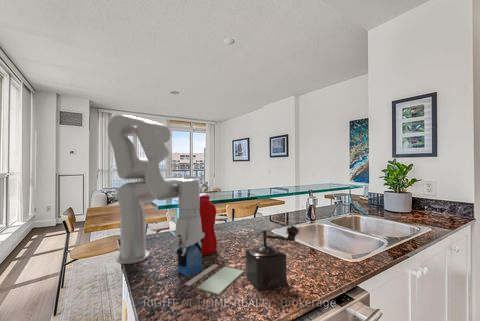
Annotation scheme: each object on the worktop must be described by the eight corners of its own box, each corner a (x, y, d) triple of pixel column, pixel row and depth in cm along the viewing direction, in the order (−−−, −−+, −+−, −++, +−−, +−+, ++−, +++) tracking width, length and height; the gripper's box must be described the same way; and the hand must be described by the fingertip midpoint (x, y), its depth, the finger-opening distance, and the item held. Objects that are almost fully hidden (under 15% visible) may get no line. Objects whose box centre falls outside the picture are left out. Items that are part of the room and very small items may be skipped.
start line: (185, 284, 73) (185, 283, 73) (213, 264, 87) (213, 264, 87) (189, 285, 72) (189, 285, 72) (218, 265, 86) (218, 265, 86)
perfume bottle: (192, 265, 87) (192, 234, 87) (201, 270, 82) (201, 237, 83) (178, 270, 82) (177, 237, 83) (187, 276, 78) (186, 241, 78)
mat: (197, 288, 71) (197, 287, 71) (224, 267, 85) (224, 266, 85) (218, 295, 67) (218, 293, 67) (243, 272, 81) (243, 270, 81)
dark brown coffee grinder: (259, 293, 67) (258, 232, 68) (245, 276, 78) (244, 223, 78) (302, 282, 73) (301, 226, 73) (283, 268, 83) (282, 219, 84)
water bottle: (200, 246, 107) (199, 193, 108) (219, 249, 102) (218, 194, 103) (187, 252, 99) (186, 195, 100) (207, 257, 94) (206, 197, 94)
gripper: (196, 208, 92) (197, 251, 92) (163, 217, 77) (164, 269, 77) (211, 209, 89) (212, 254, 88) (179, 219, 73) (180, 274, 73)
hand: (189, 261), depth 82 cm, fingers closed on perfume bottle, 7 cm apart
